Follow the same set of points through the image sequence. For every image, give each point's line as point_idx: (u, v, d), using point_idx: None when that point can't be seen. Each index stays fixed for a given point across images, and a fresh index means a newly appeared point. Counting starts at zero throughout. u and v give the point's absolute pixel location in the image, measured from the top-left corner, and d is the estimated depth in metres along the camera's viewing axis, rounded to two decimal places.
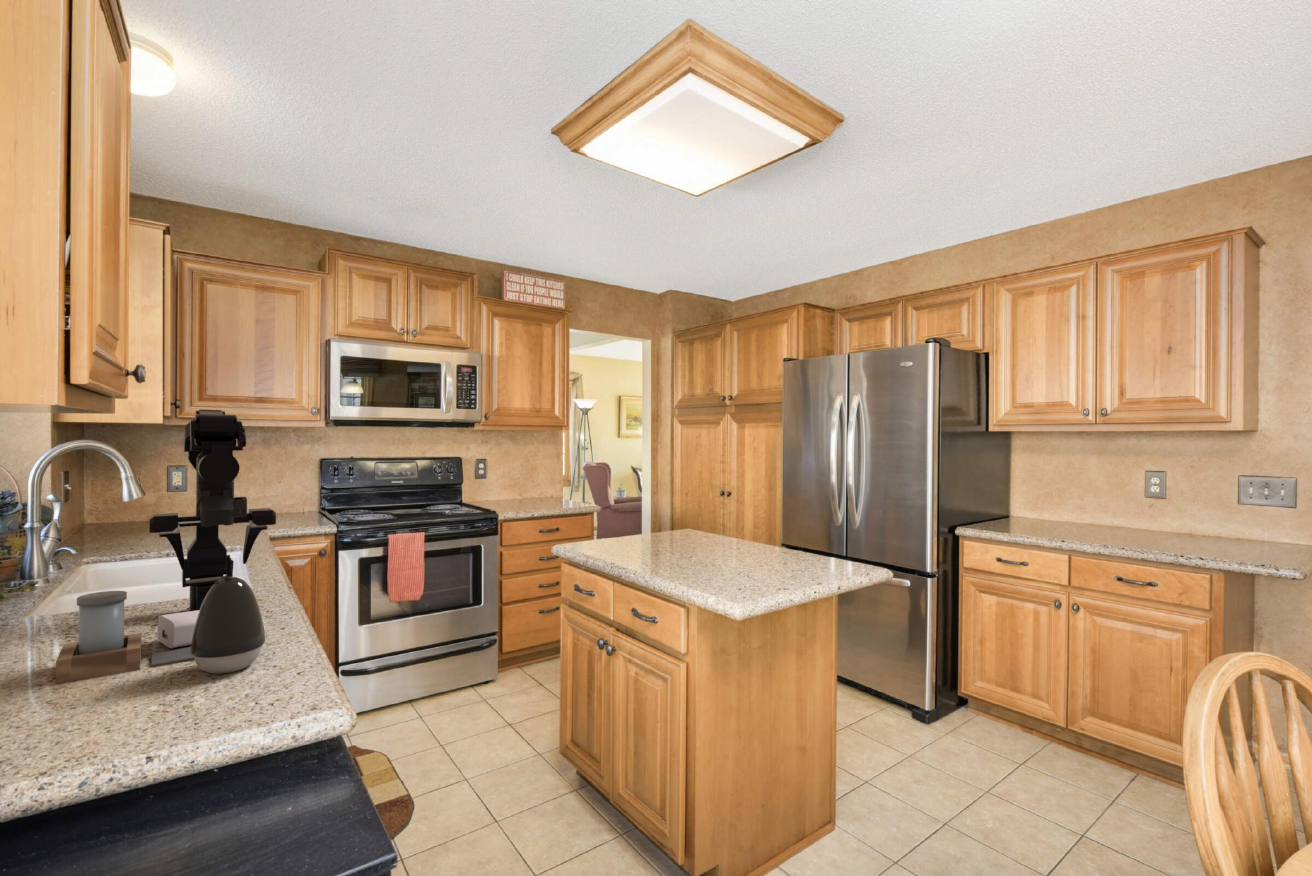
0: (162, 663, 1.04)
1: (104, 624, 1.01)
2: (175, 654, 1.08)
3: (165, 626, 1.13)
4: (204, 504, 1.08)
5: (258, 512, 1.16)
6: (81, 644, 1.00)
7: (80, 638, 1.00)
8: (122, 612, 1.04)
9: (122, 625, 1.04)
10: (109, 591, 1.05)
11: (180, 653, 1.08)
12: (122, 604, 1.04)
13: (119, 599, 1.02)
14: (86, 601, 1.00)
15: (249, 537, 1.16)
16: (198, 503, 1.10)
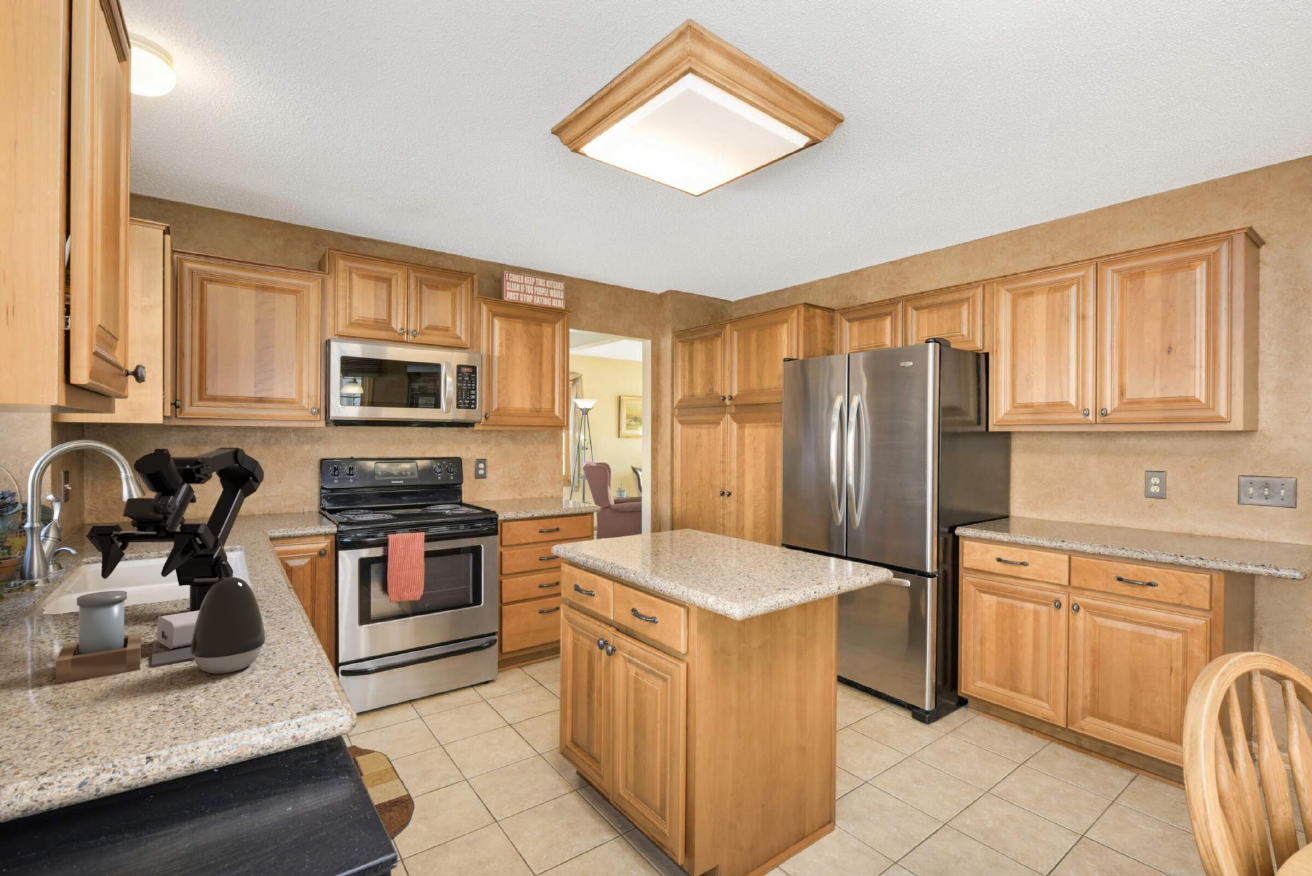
0: (162, 663, 1.04)
1: (104, 624, 1.01)
2: (175, 654, 1.08)
3: (164, 627, 1.13)
4: None
5: (189, 523, 1.17)
6: (81, 644, 1.00)
7: (80, 638, 1.00)
8: (122, 612, 1.04)
9: (122, 625, 1.04)
10: (109, 591, 1.05)
11: (180, 653, 1.08)
12: (122, 604, 1.04)
13: (119, 599, 1.02)
14: (86, 601, 1.00)
15: (174, 547, 1.14)
16: None
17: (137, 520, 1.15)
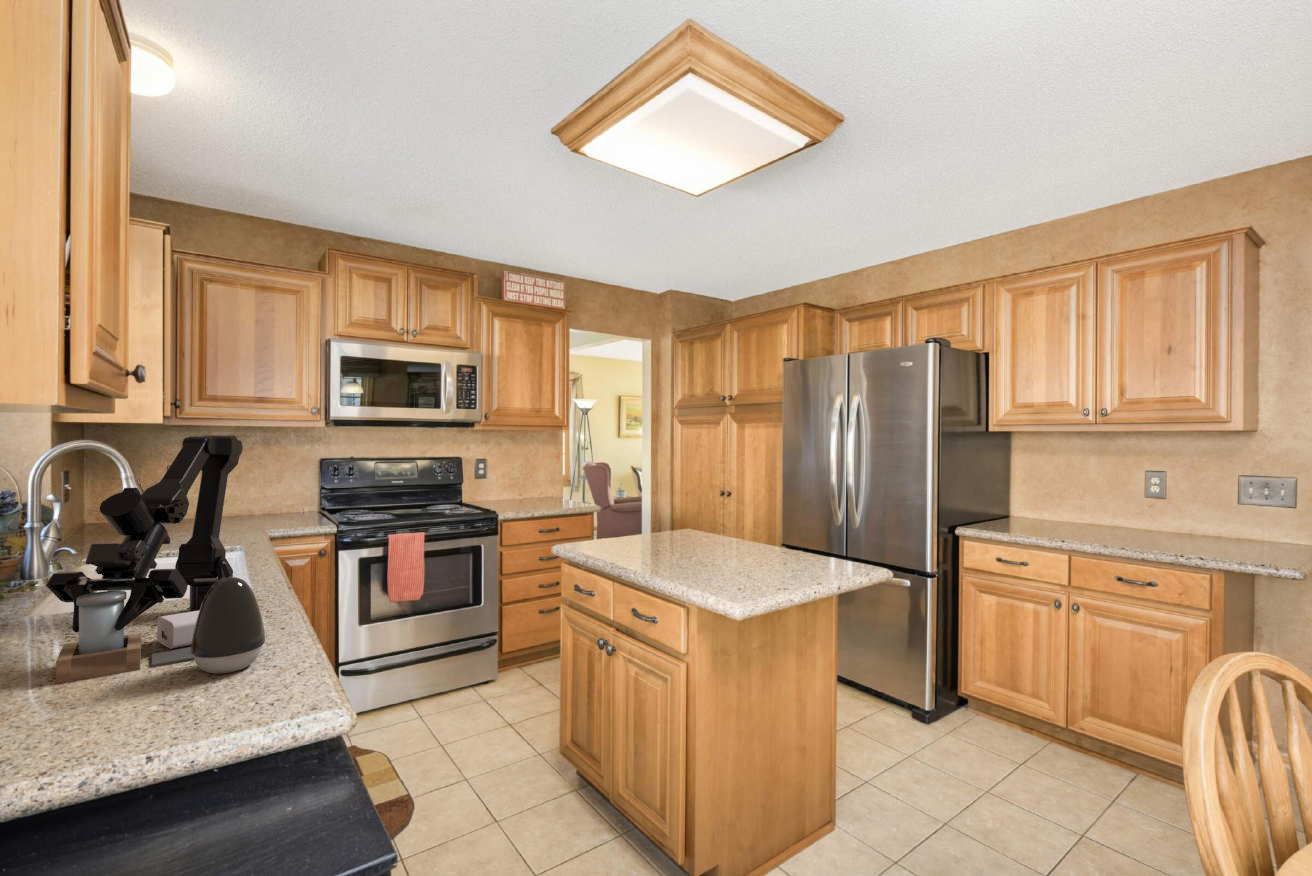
0: (162, 663, 1.04)
1: (103, 624, 1.01)
2: (175, 654, 1.08)
3: (164, 627, 1.13)
4: None
5: (159, 569, 1.08)
6: (81, 644, 1.00)
7: (80, 638, 1.00)
8: None
9: None
10: (109, 591, 1.05)
11: (180, 653, 1.08)
12: (122, 604, 1.04)
13: (119, 599, 1.02)
14: (86, 601, 1.00)
15: (131, 597, 1.05)
16: None
17: (102, 567, 1.06)
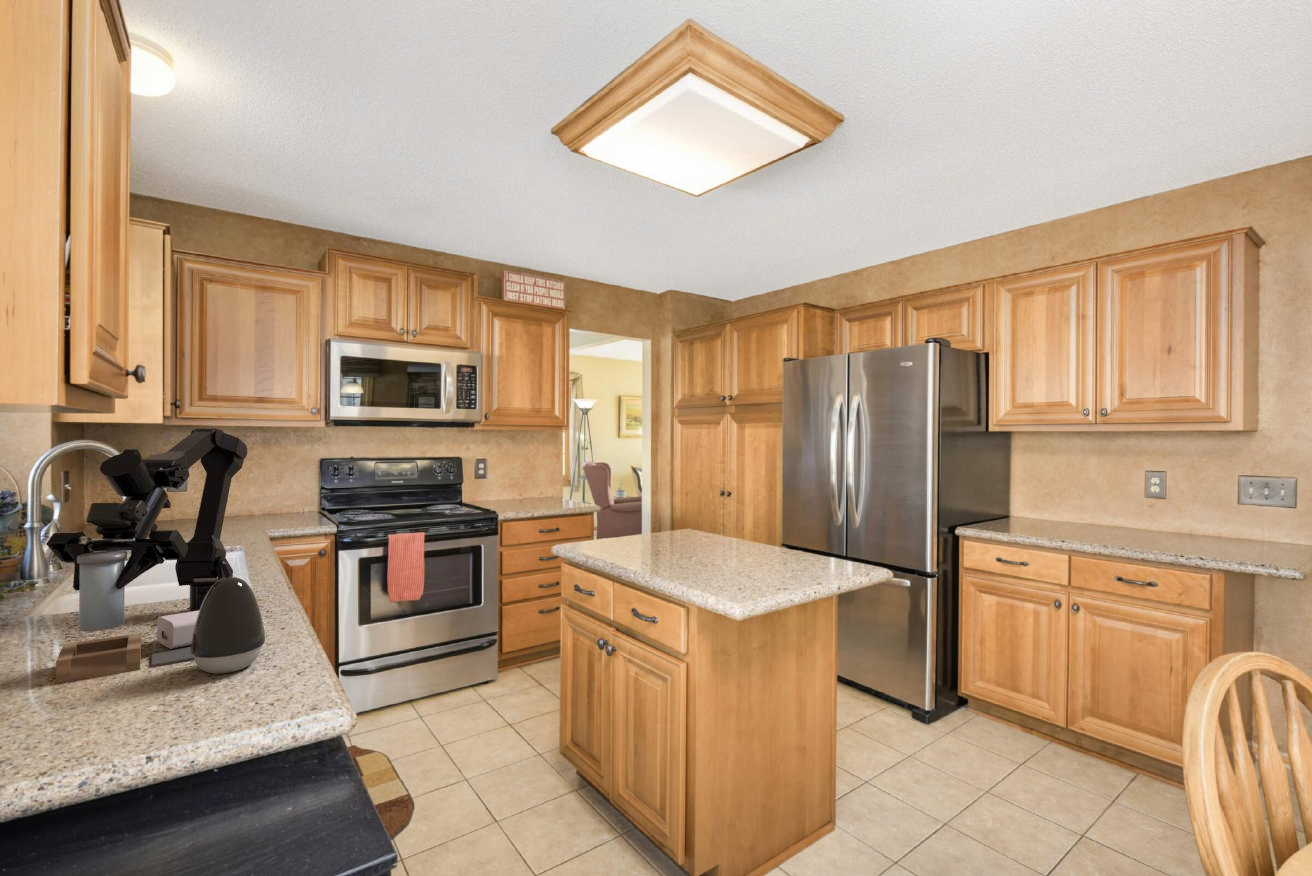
0: (162, 663, 1.04)
1: (104, 583, 1.01)
2: (175, 654, 1.08)
3: (164, 627, 1.13)
4: None
5: (160, 530, 1.08)
6: (82, 601, 1.00)
7: (80, 596, 1.00)
8: None
9: None
10: (109, 551, 1.05)
11: (180, 653, 1.08)
12: (122, 563, 1.04)
13: (119, 558, 1.02)
14: (86, 559, 1.00)
15: (131, 556, 1.05)
16: None
17: (103, 527, 1.06)
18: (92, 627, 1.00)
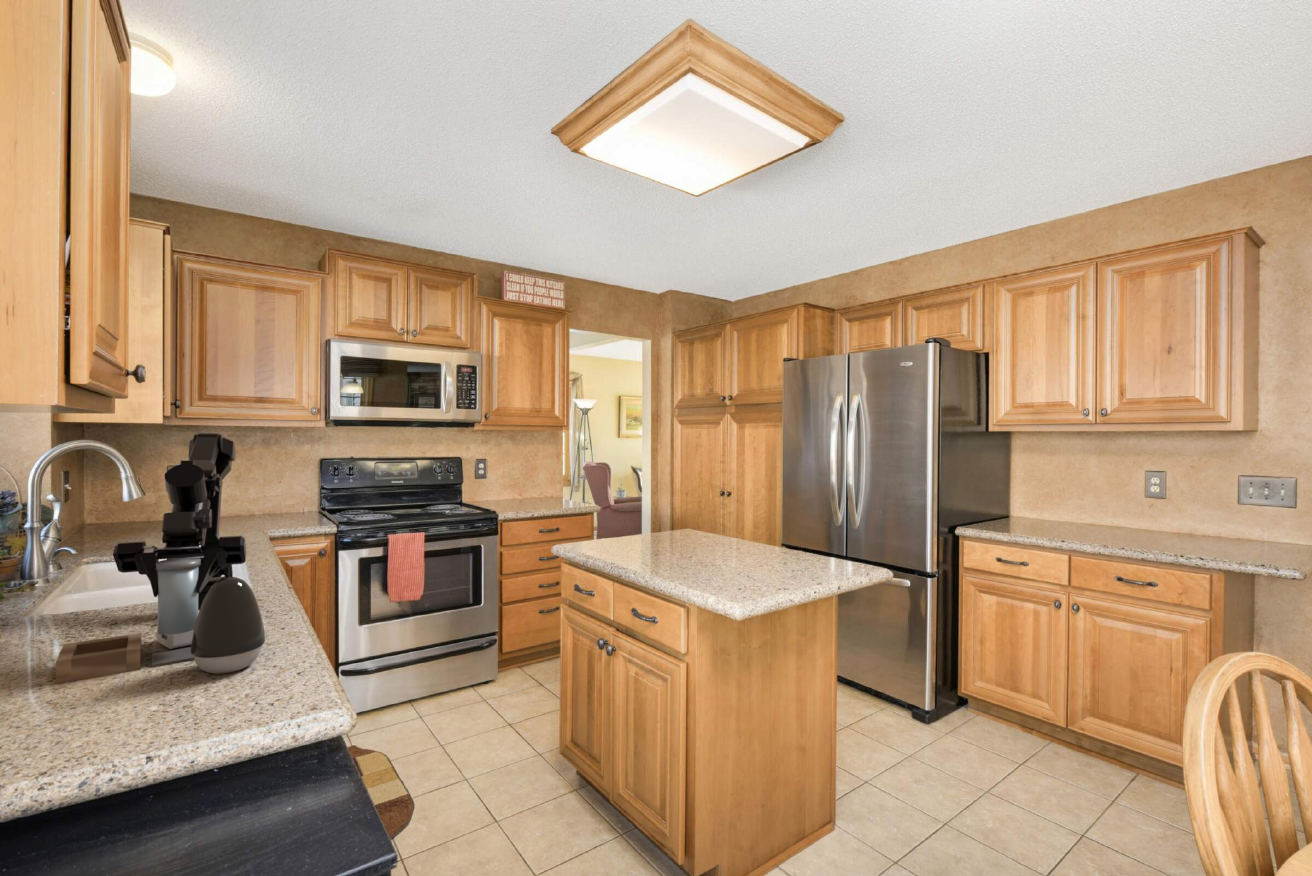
0: (162, 663, 1.04)
1: (187, 587, 1.07)
2: (175, 654, 1.08)
3: None
4: None
5: (226, 536, 1.14)
6: (165, 606, 1.05)
7: (162, 602, 1.05)
8: None
9: None
10: (178, 558, 1.10)
11: (180, 653, 1.08)
12: (198, 569, 1.09)
13: (198, 563, 1.09)
14: (171, 565, 1.05)
15: (204, 562, 1.11)
16: None
17: (169, 535, 1.10)
18: (176, 630, 1.06)
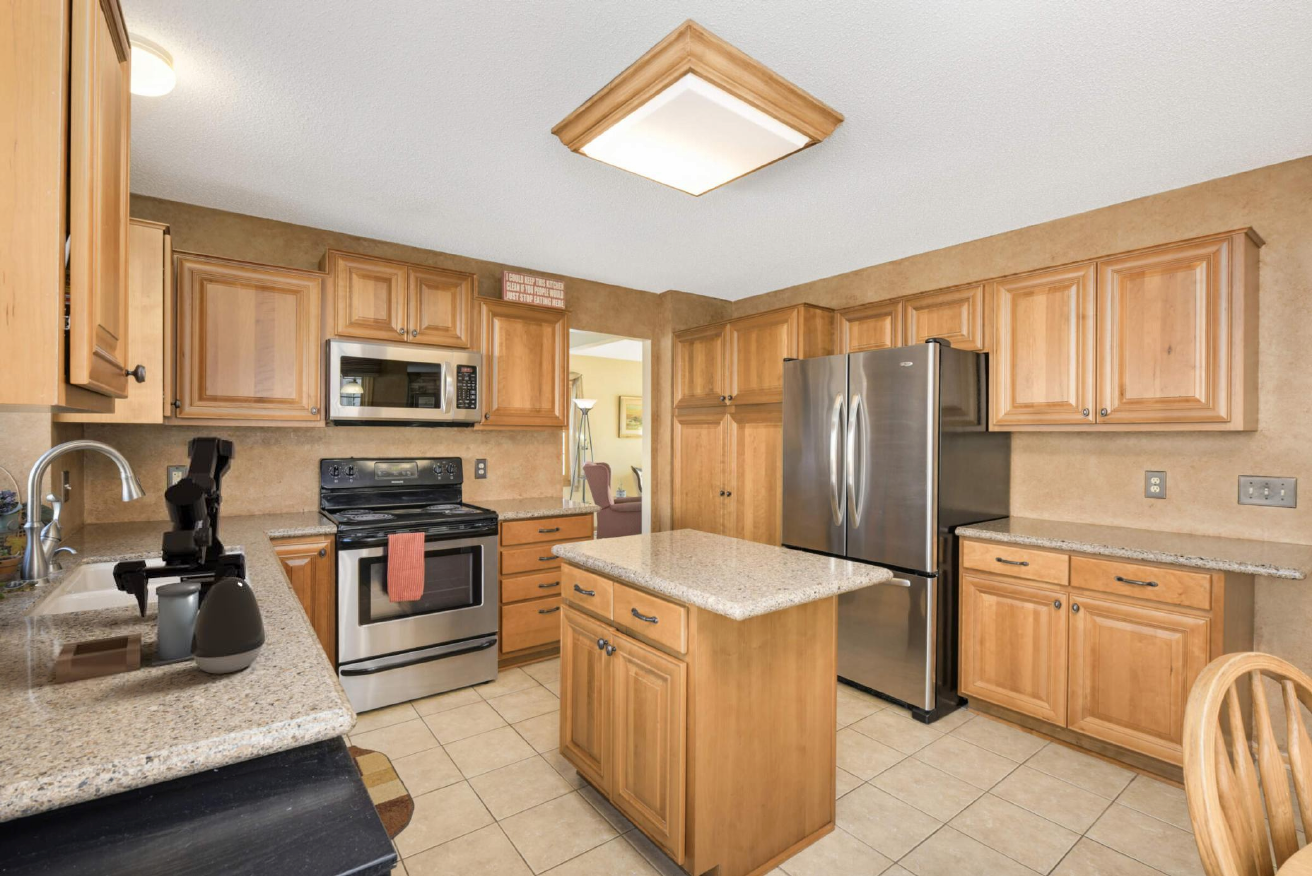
0: (162, 663, 1.04)
1: (187, 612, 1.07)
2: None
3: None
4: None
5: (226, 554, 1.14)
6: (164, 632, 1.05)
7: (162, 627, 1.05)
8: None
9: (197, 613, 1.10)
10: None
11: None
12: None
13: (198, 588, 1.09)
14: (171, 591, 1.05)
15: (215, 579, 1.11)
16: None
17: (169, 554, 1.10)
18: (176, 655, 1.06)
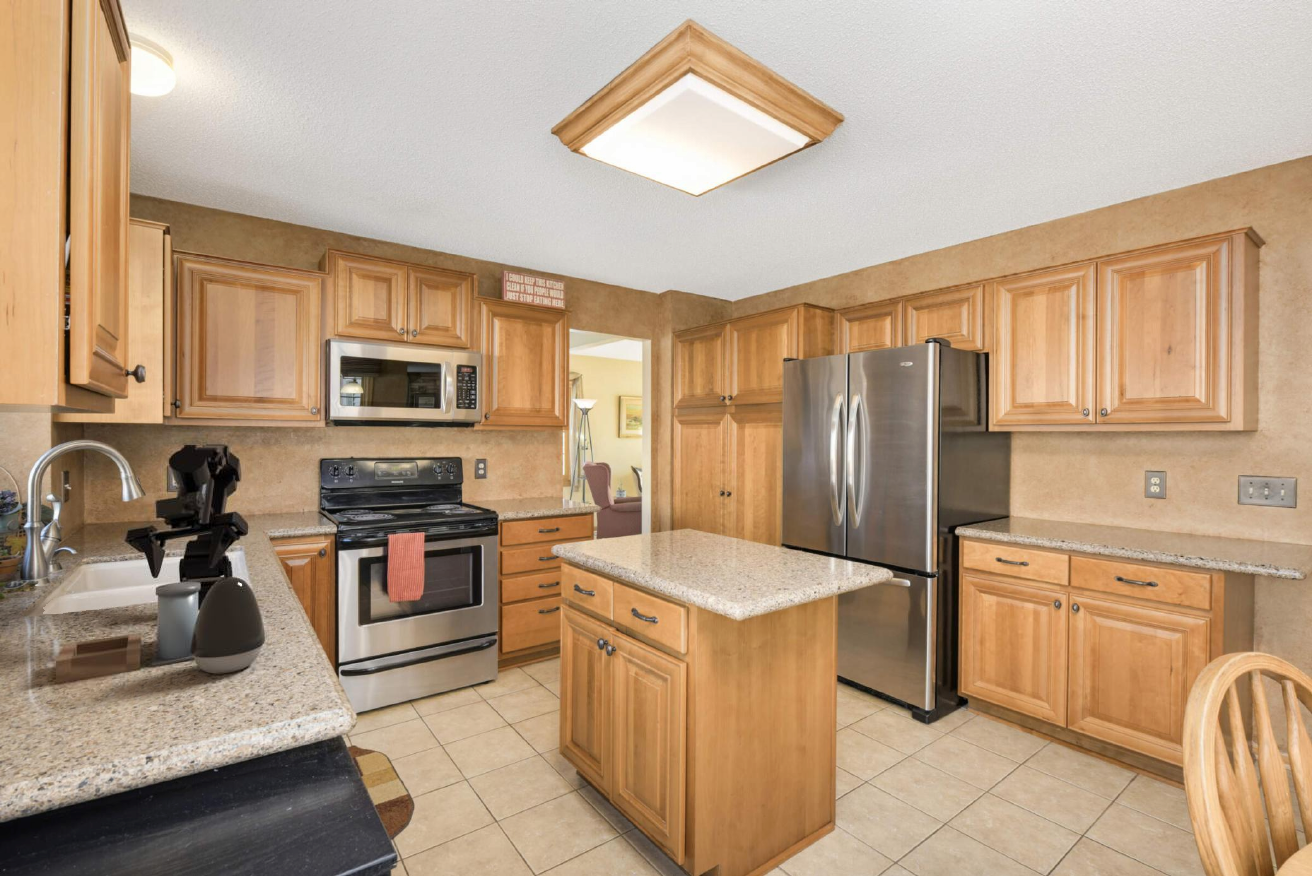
0: (162, 663, 1.04)
1: (187, 612, 1.07)
2: None
3: None
4: None
5: (221, 514, 1.20)
6: (164, 632, 1.05)
7: (162, 627, 1.05)
8: None
9: (197, 613, 1.10)
10: None
11: None
12: None
13: (198, 588, 1.09)
14: (171, 591, 1.05)
15: (213, 539, 1.18)
16: None
17: (170, 518, 1.17)
18: (176, 655, 1.06)
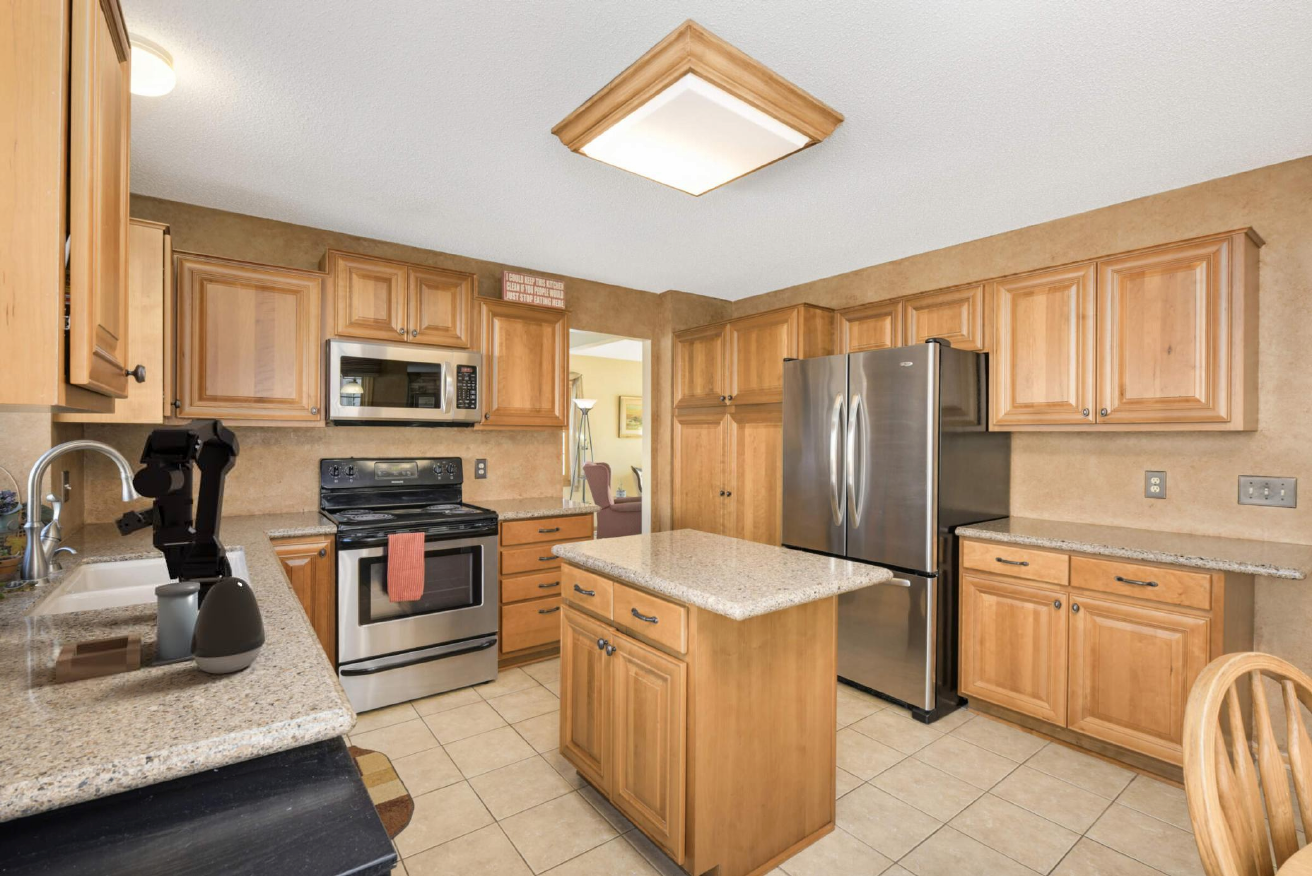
0: (162, 663, 1.04)
1: (187, 612, 1.07)
2: None
3: None
4: None
5: (157, 528, 1.12)
6: (164, 632, 1.05)
7: (162, 627, 1.05)
8: (197, 601, 1.09)
9: (197, 613, 1.10)
10: (177, 582, 1.10)
11: None
12: (197, 593, 1.09)
13: (198, 588, 1.09)
14: (171, 591, 1.05)
15: None
16: None
17: None
18: (176, 655, 1.06)
